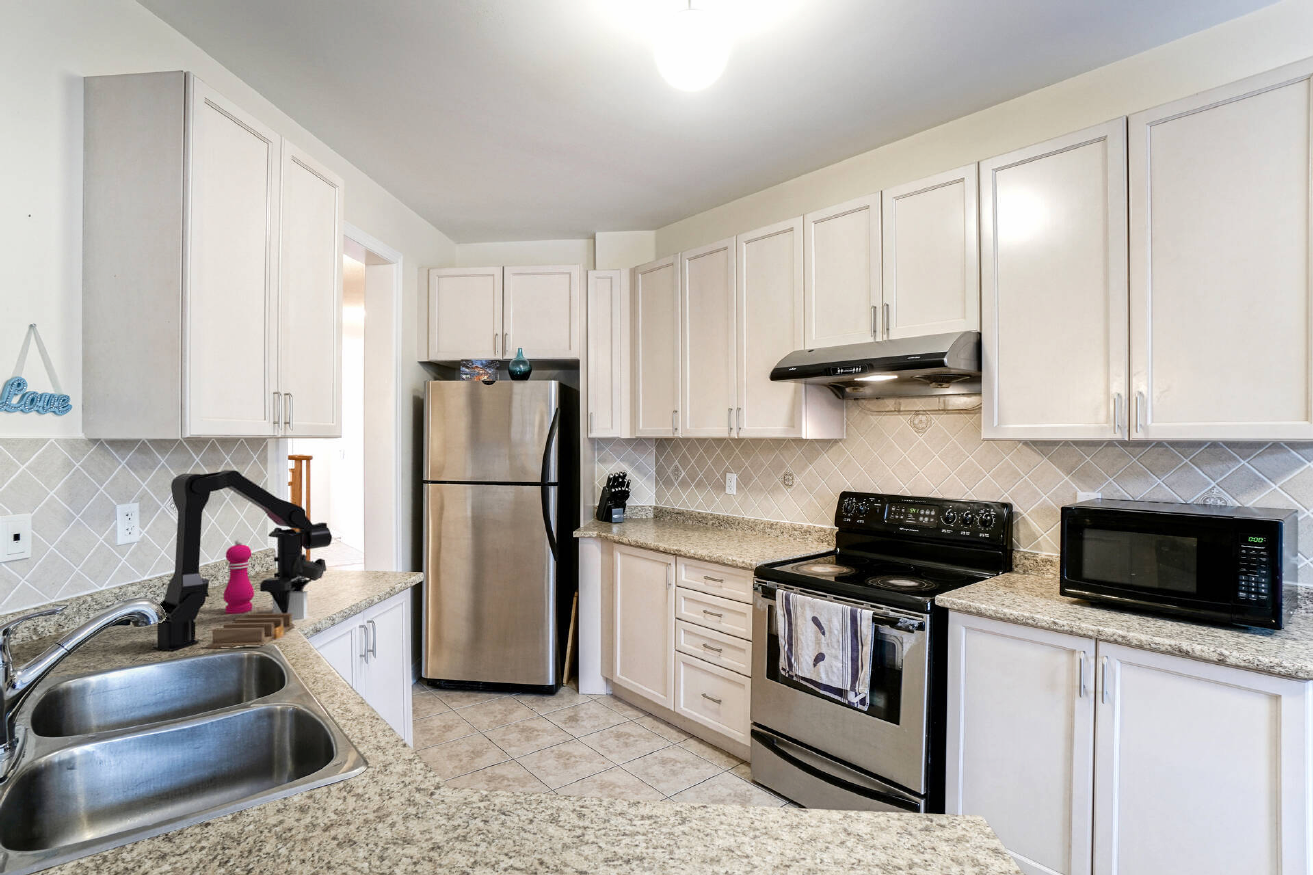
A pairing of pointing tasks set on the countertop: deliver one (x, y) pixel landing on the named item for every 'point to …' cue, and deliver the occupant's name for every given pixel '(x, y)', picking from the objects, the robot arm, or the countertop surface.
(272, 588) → the robot arm
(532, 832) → the countertop surface
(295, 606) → the panel
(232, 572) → the pepper mill
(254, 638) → the rack
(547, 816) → the countertop surface
